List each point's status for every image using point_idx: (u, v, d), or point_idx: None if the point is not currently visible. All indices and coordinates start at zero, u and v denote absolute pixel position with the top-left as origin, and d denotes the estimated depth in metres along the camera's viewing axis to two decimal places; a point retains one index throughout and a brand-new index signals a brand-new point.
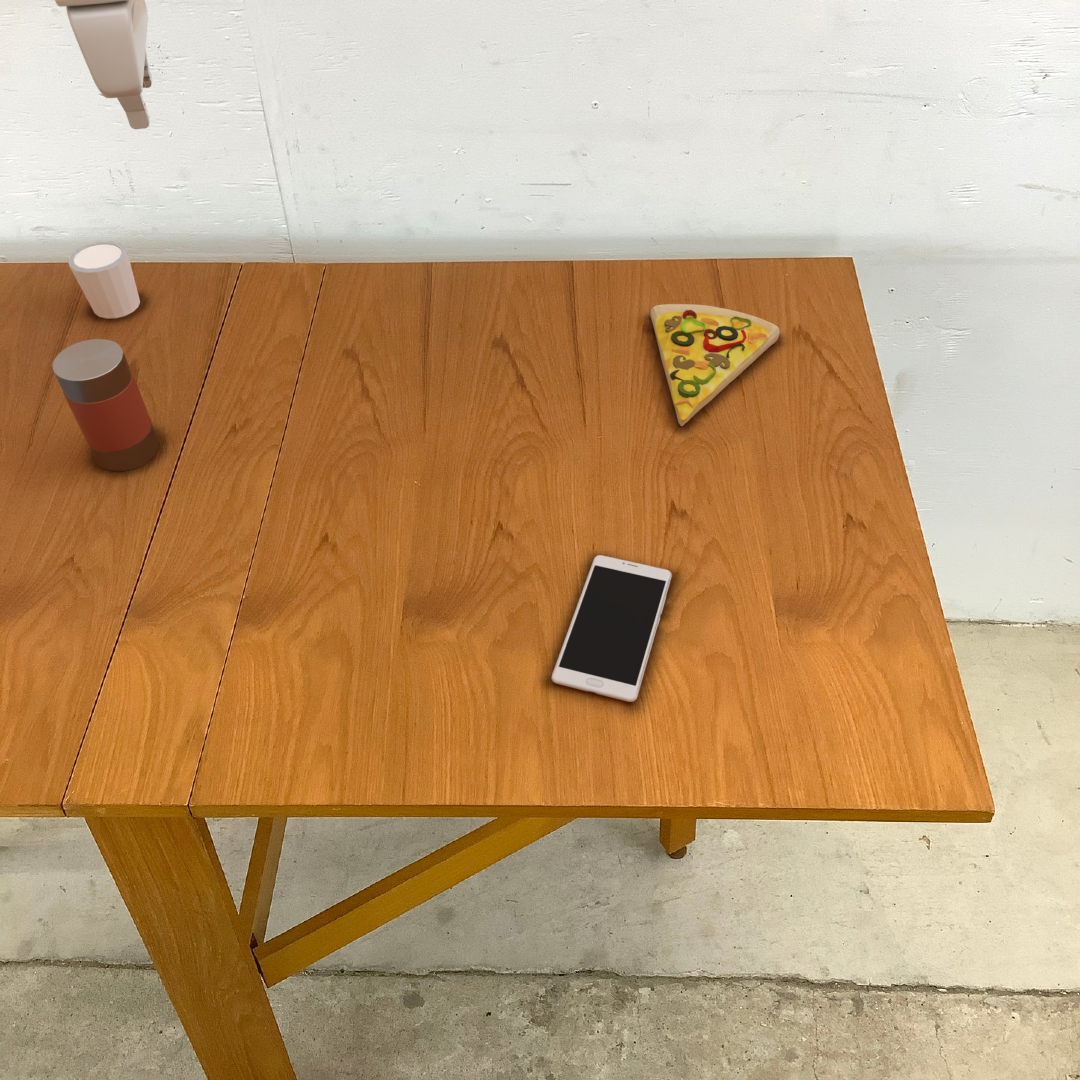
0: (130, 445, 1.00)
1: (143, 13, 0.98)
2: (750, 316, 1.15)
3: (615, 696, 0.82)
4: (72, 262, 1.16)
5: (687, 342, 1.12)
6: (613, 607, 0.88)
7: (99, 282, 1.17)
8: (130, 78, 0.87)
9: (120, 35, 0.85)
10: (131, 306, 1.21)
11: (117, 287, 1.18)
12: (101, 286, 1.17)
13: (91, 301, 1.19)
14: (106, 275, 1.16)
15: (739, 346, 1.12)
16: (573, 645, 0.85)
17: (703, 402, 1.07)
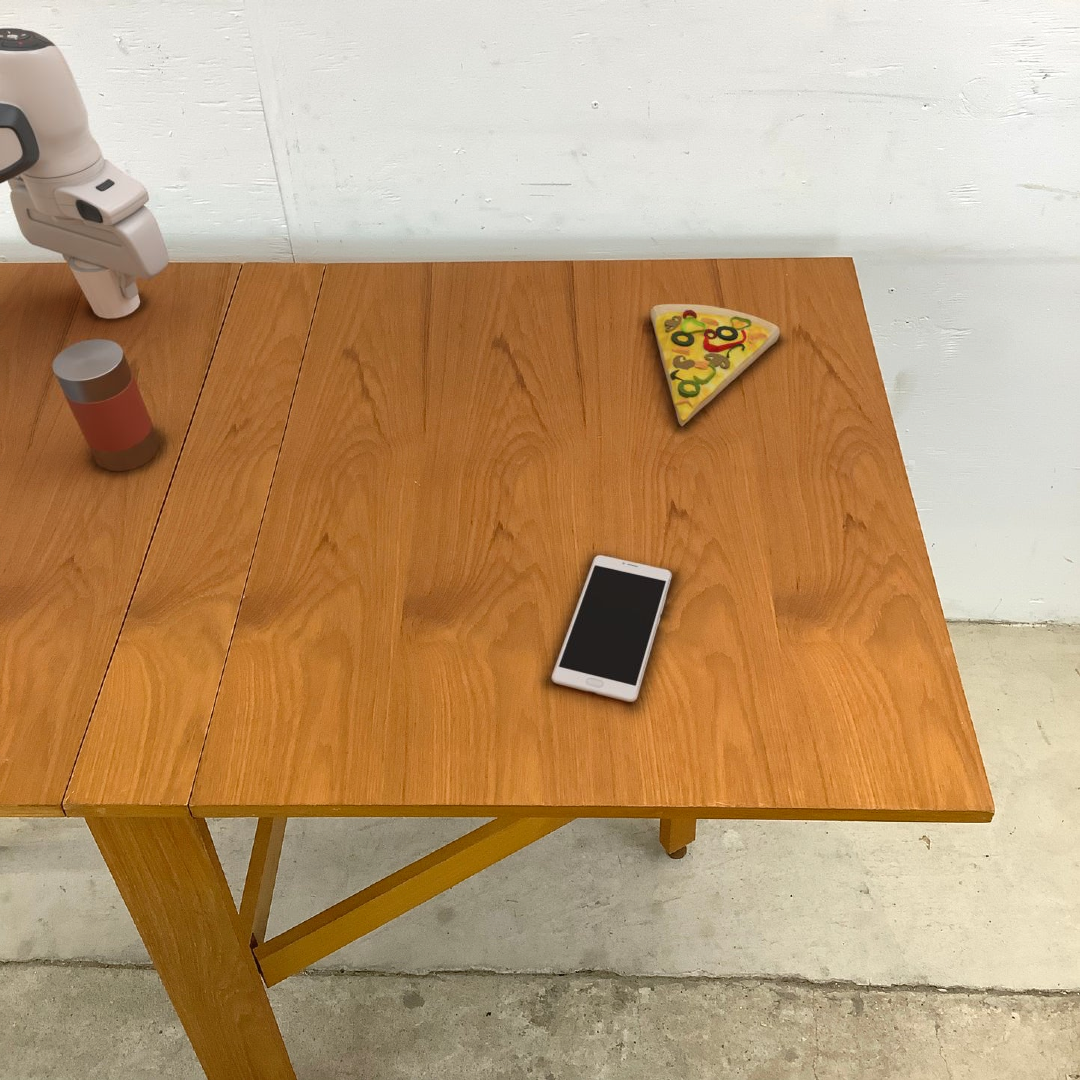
0: (130, 445, 1.00)
1: None
2: (750, 316, 1.15)
3: (615, 696, 0.82)
4: (72, 262, 1.16)
5: (687, 342, 1.12)
6: (613, 607, 0.88)
7: (99, 282, 1.17)
8: (165, 257, 1.14)
9: (154, 228, 1.11)
10: (131, 306, 1.21)
11: (117, 287, 1.18)
12: (101, 286, 1.17)
13: (91, 301, 1.19)
14: (106, 275, 1.16)
15: (739, 346, 1.12)
16: (573, 645, 0.85)
17: (703, 402, 1.07)
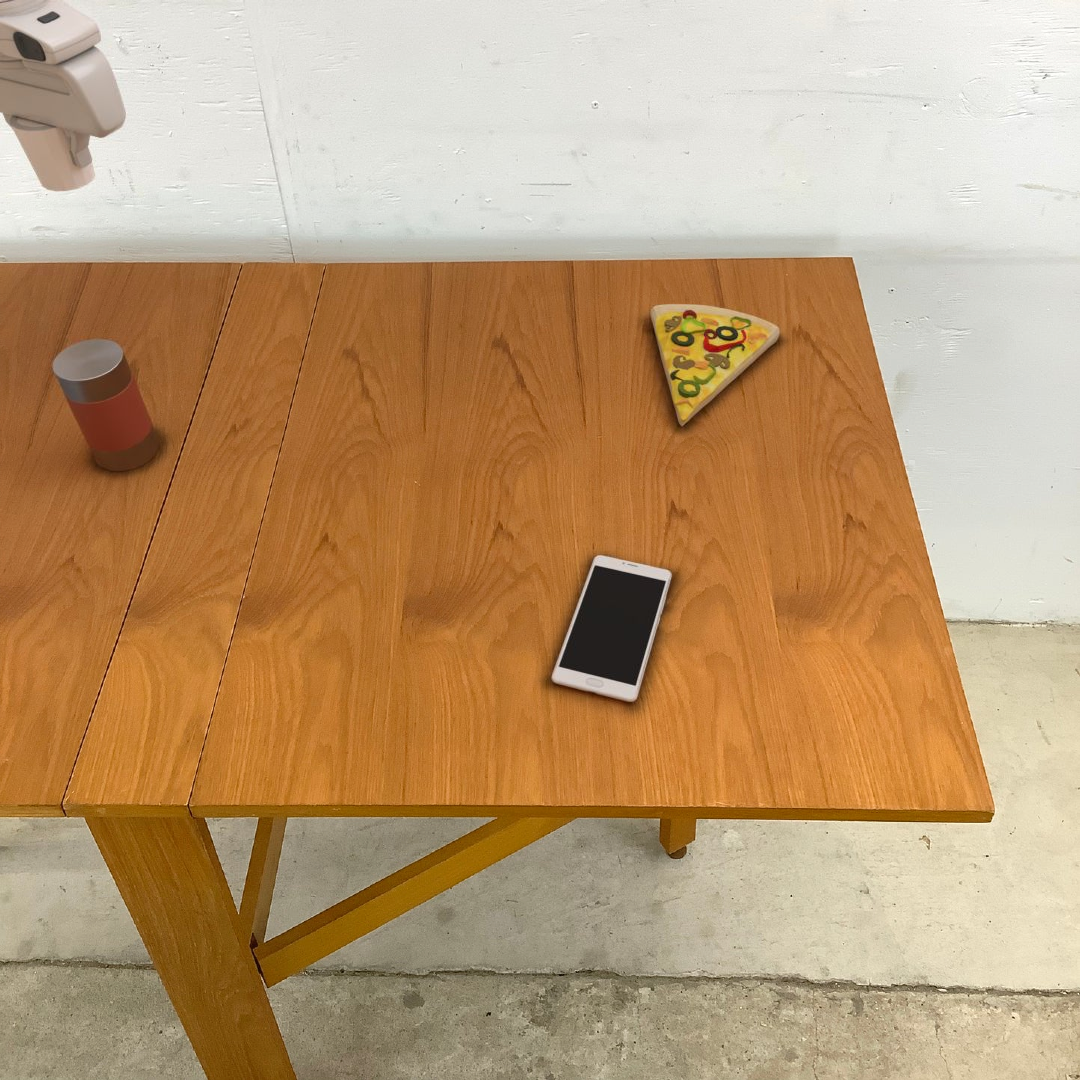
0: (130, 445, 1.00)
1: None
2: (750, 316, 1.15)
3: (615, 696, 0.82)
4: (14, 121, 1.01)
5: (687, 342, 1.12)
6: (613, 607, 0.88)
7: (46, 144, 1.01)
8: (121, 111, 0.98)
9: (107, 74, 0.96)
10: (84, 177, 1.05)
11: (67, 151, 1.02)
12: (48, 149, 1.01)
13: (38, 169, 1.03)
14: (53, 135, 1.00)
15: (739, 346, 1.12)
16: (573, 645, 0.85)
17: (703, 402, 1.07)
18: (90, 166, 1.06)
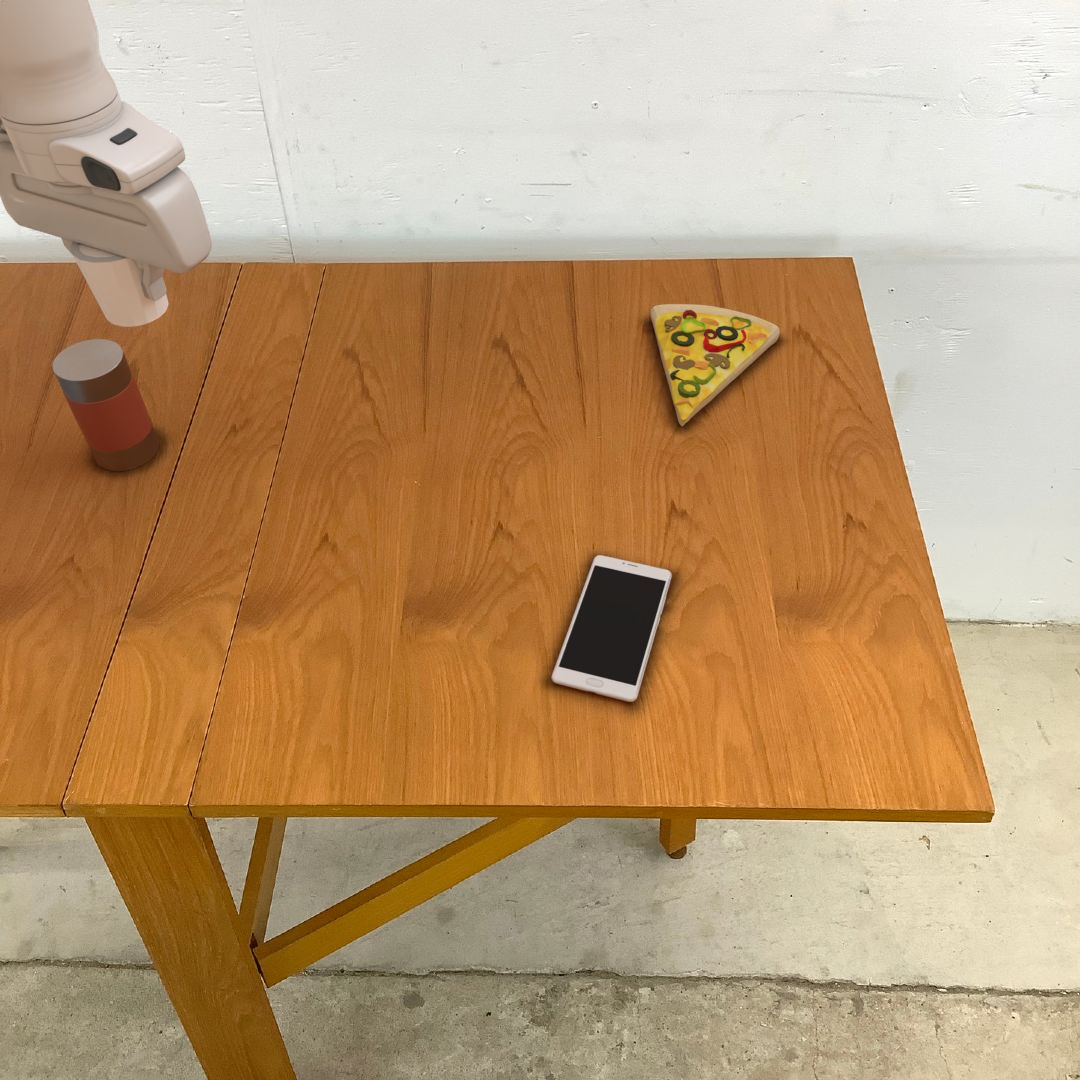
0: (130, 445, 1.00)
1: None
2: (750, 316, 1.15)
3: (615, 696, 0.82)
4: (76, 249, 0.84)
5: (687, 342, 1.12)
6: (613, 607, 0.88)
7: (114, 277, 0.84)
8: (206, 241, 0.81)
9: (192, 200, 0.78)
10: (157, 310, 0.88)
11: (139, 283, 0.85)
12: (116, 282, 0.84)
13: (103, 303, 0.86)
14: (124, 267, 0.83)
15: (739, 346, 1.12)
16: (573, 645, 0.85)
17: (703, 402, 1.07)
18: None
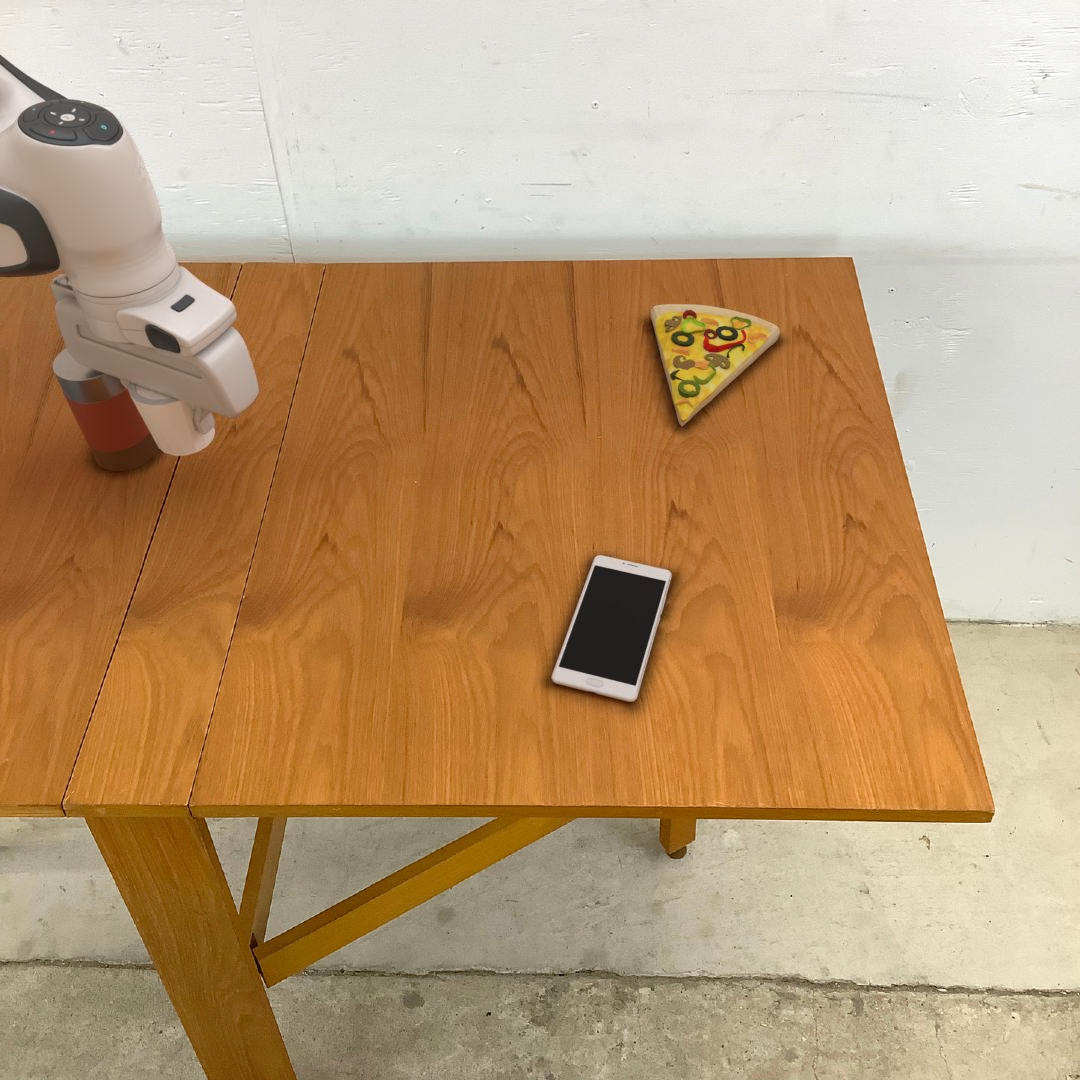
0: (130, 445, 1.00)
1: None
2: (750, 316, 1.15)
3: (615, 696, 0.82)
4: (133, 390, 0.91)
5: (687, 342, 1.12)
6: (613, 607, 0.88)
7: (168, 416, 0.91)
8: (254, 388, 0.88)
9: (243, 354, 0.86)
10: (205, 440, 0.96)
11: (190, 420, 0.93)
12: (170, 420, 0.92)
13: (156, 436, 0.94)
14: (177, 407, 0.91)
15: (739, 346, 1.12)
16: (573, 645, 0.85)
17: (703, 402, 1.07)
18: None
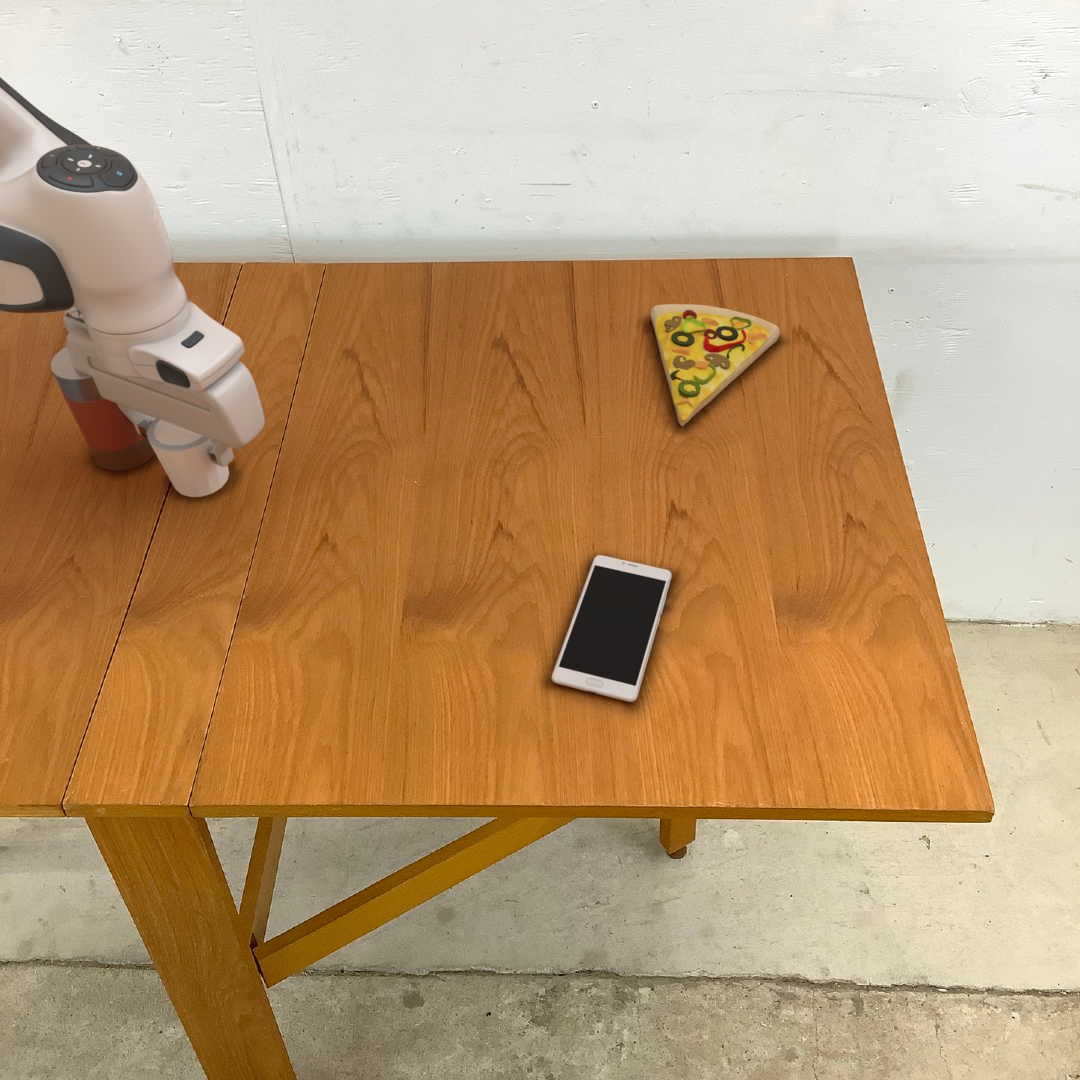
0: (129, 444, 1.00)
1: None
2: (750, 316, 1.15)
3: (615, 696, 0.82)
4: (152, 436, 0.95)
5: (687, 342, 1.12)
6: (613, 607, 0.88)
7: (185, 460, 0.95)
8: (260, 420, 0.91)
9: (250, 388, 0.89)
10: (220, 481, 1.00)
11: (206, 464, 0.97)
12: (187, 464, 0.96)
13: (173, 479, 0.98)
14: (194, 453, 0.95)
15: (739, 346, 1.12)
16: (573, 645, 0.85)
17: (703, 402, 1.07)
18: (225, 468, 1.00)
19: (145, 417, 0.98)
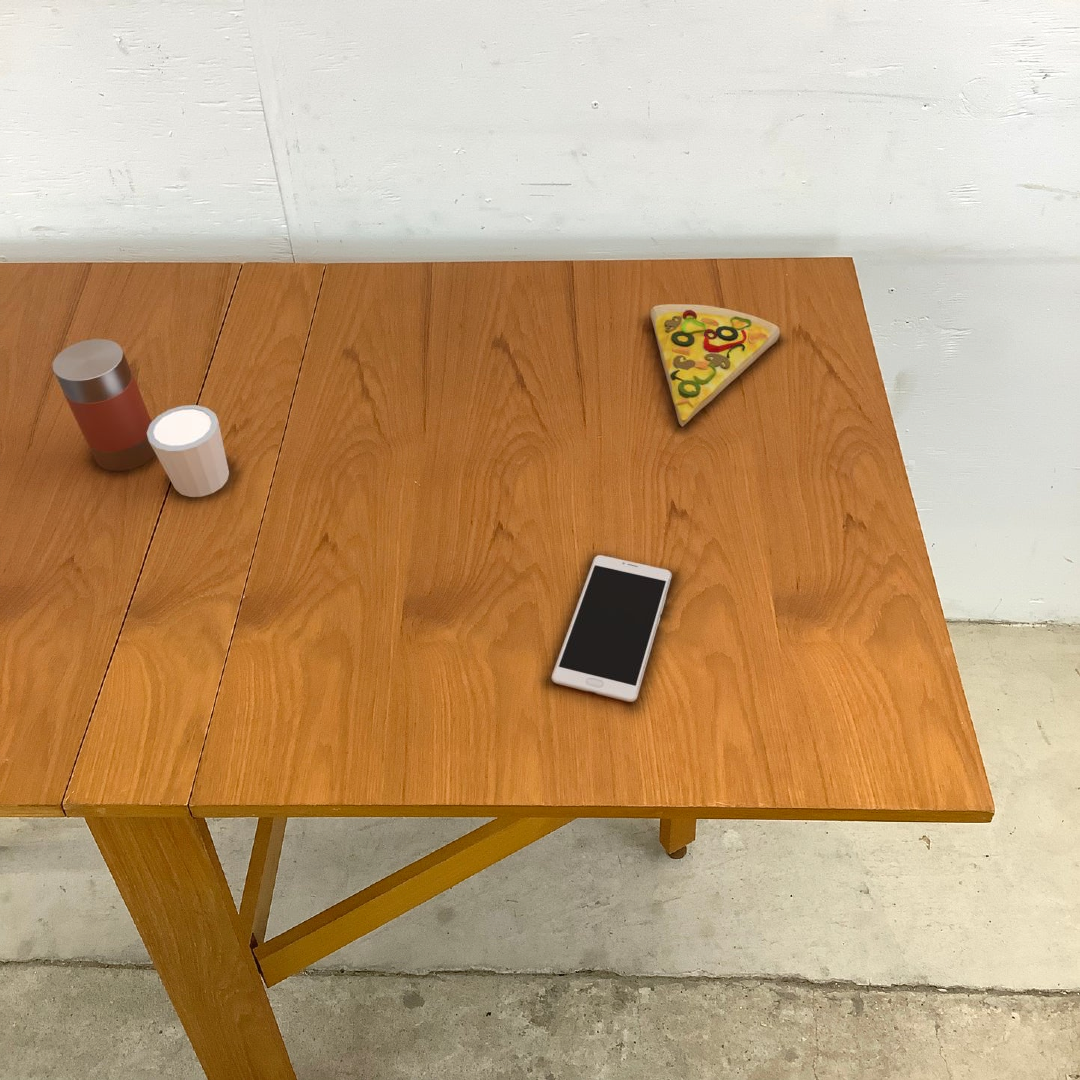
0: (130, 445, 1.00)
1: None
2: (750, 316, 1.15)
3: (615, 696, 0.82)
4: (152, 436, 0.95)
5: (687, 342, 1.12)
6: (613, 607, 0.88)
7: (185, 460, 0.95)
8: None
9: None
10: (220, 481, 1.00)
11: (206, 464, 0.97)
12: (187, 464, 0.96)
13: (173, 479, 0.98)
14: (194, 453, 0.95)
15: (739, 346, 1.12)
16: (573, 645, 0.85)
17: (703, 402, 1.07)
18: (225, 468, 1.00)
19: None
